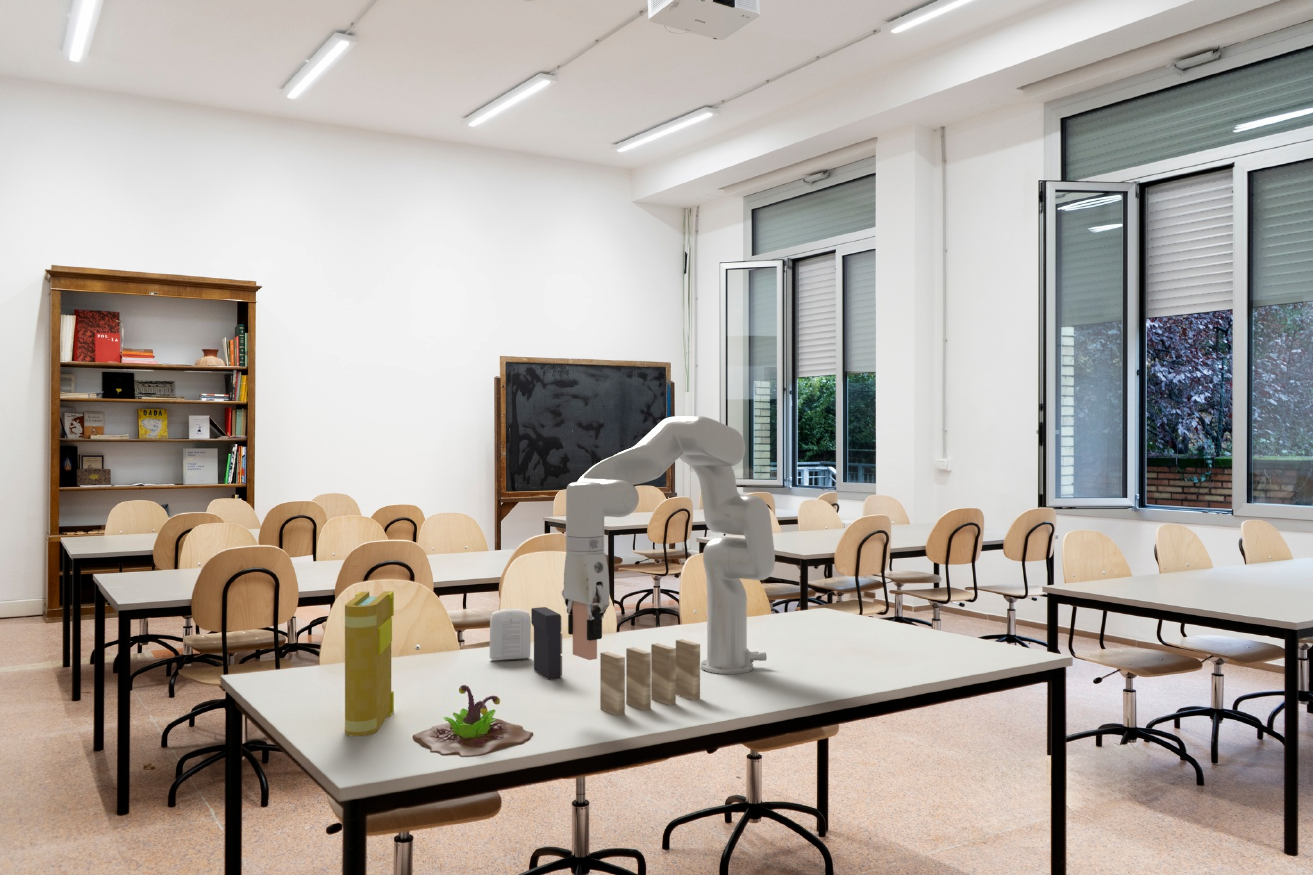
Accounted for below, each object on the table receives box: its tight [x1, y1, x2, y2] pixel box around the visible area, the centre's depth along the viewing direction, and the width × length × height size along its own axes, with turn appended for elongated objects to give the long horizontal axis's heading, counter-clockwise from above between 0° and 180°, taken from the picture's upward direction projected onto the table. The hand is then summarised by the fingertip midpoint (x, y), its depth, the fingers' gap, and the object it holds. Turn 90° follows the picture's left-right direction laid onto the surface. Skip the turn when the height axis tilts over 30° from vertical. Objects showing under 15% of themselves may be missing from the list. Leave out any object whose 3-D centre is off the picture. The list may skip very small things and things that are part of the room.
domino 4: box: [650, 642, 677, 706], centre depth 202 cm, size 2×6×12 cm, turn 38°
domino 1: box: [572, 599, 598, 661], centre depth 190 cm, size 2×6×12 cm, turn 37°
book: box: [344, 590, 395, 737], centre depth 186 cm, size 17×7×25 cm, turn 5°
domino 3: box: [625, 646, 652, 711], centre depth 198 cm, size 2×6×12 cm, turn 37°
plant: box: [412, 684, 534, 758], centre depth 176 cm, size 20×20×11 cm
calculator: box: [530, 606, 563, 681], centre depth 228 cm, size 11×4×15 cm, turn 26°
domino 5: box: [675, 638, 701, 701], centre depth 206 cm, size 2×6×12 cm, turn 37°
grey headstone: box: [489, 608, 532, 660], centre depth 244 cm, size 10×4×12 cm, turn 103°
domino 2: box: [599, 651, 626, 716], centre depth 194 cm, size 2×6×12 cm, turn 37°
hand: (584, 635), depth 190 cm, fingers closed on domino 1, 5 cm apart
